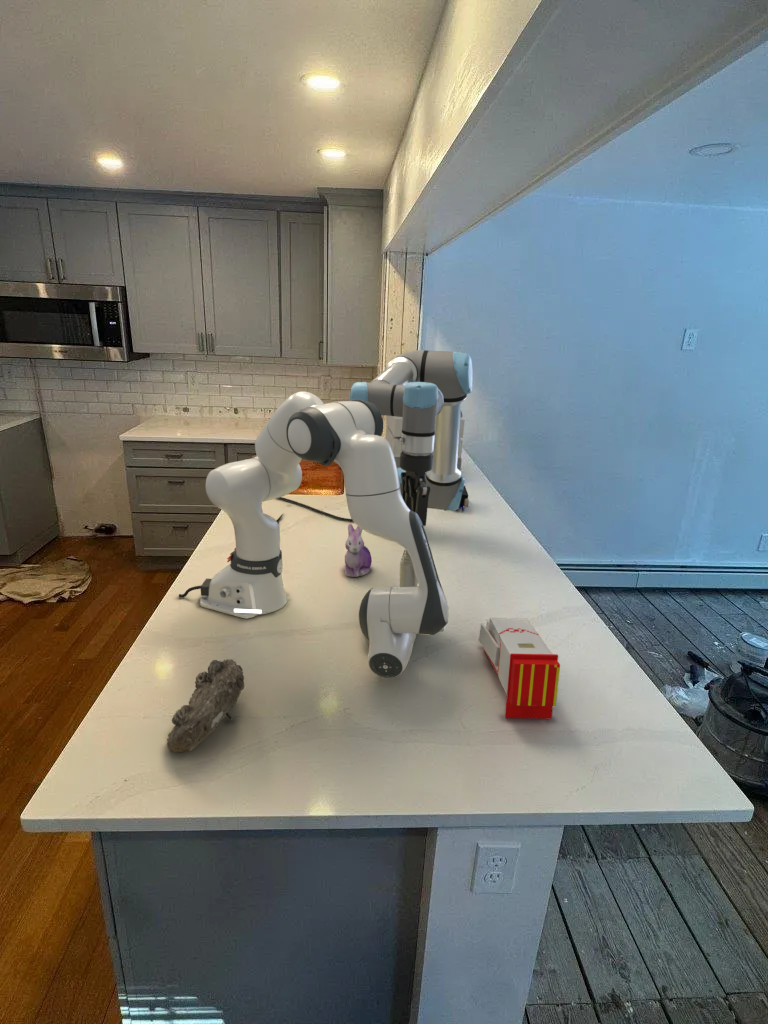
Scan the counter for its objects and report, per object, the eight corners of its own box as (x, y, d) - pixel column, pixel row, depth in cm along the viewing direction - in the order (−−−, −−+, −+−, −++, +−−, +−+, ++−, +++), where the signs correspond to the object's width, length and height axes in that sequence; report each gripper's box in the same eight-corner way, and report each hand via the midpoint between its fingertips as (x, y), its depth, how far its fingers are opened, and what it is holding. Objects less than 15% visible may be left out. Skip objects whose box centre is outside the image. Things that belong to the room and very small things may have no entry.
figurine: (350, 580, 164) (351, 532, 159) (336, 566, 172) (336, 520, 167) (379, 575, 168) (381, 528, 163) (364, 561, 176) (365, 516, 171)
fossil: (192, 660, 117) (244, 628, 112) (224, 691, 120) (276, 661, 115) (142, 746, 98) (202, 712, 93) (182, 779, 101) (242, 748, 96)
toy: (525, 603, 136) (569, 660, 107) (520, 654, 139) (562, 725, 109) (475, 601, 135) (505, 659, 106) (471, 653, 138) (499, 724, 109)
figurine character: (468, 516, 224) (463, 500, 237) (471, 498, 221) (465, 483, 234) (452, 515, 224) (447, 499, 237) (453, 498, 220) (449, 482, 234)
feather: (290, 508, 223) (292, 504, 223) (272, 532, 197) (275, 527, 196) (286, 505, 223) (289, 501, 223) (268, 529, 197) (271, 525, 196)
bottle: (416, 626, 142) (421, 544, 134) (397, 626, 142) (402, 544, 134) (413, 617, 146) (419, 537, 139) (396, 617, 146) (400, 537, 138)
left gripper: (444, 621, 127) (450, 593, 140) (356, 609, 131) (369, 582, 143) (442, 645, 129) (447, 615, 142) (355, 632, 133) (368, 604, 146)
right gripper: (390, 444, 136) (385, 534, 143) (413, 462, 120) (407, 562, 128) (419, 443, 138) (413, 532, 146) (446, 461, 123) (438, 559, 130)
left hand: (407, 598), depth 143 cm, fingers closed on bottle, 4 cm apart
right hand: (410, 546), depth 137 cm, fingers closed on cap, 4 cm apart
